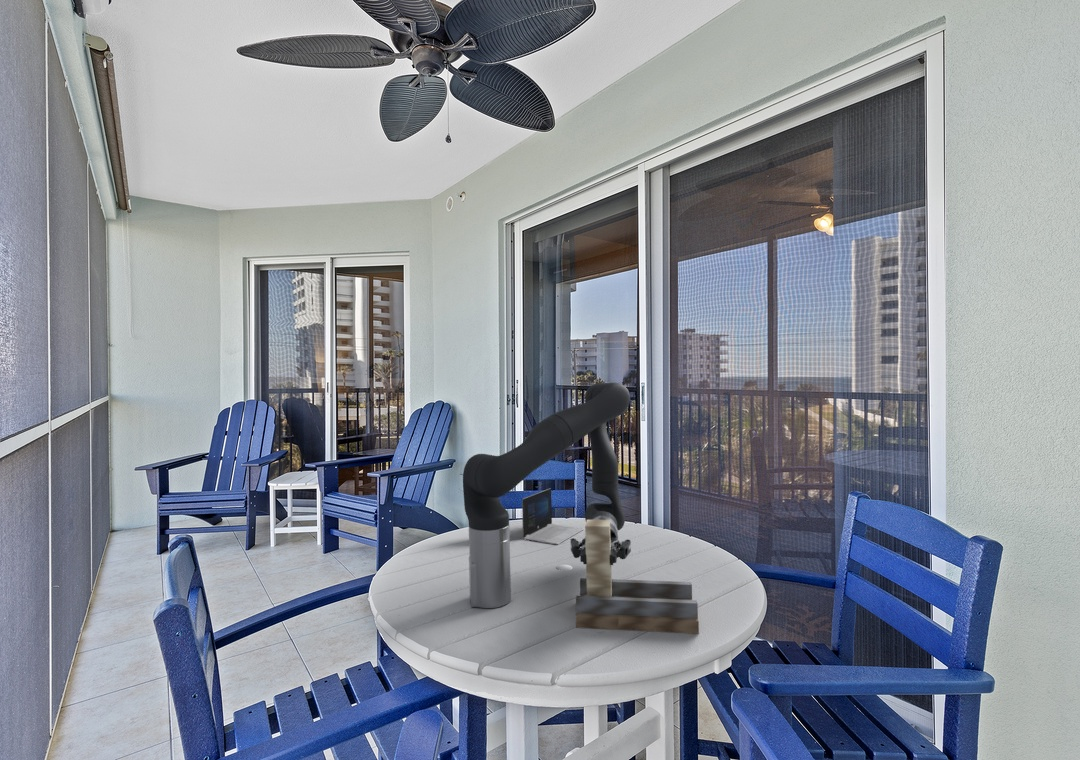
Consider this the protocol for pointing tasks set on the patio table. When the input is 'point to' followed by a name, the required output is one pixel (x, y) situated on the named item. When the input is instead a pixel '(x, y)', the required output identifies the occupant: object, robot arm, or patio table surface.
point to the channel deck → (640, 607)
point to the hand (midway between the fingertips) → (598, 560)
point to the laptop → (543, 520)
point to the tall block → (598, 558)
